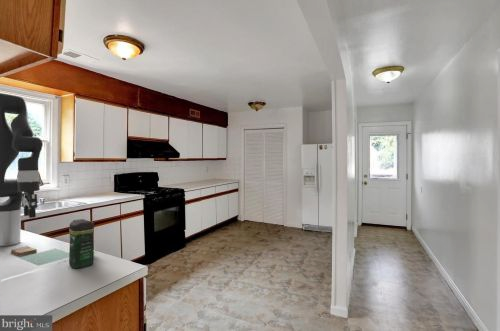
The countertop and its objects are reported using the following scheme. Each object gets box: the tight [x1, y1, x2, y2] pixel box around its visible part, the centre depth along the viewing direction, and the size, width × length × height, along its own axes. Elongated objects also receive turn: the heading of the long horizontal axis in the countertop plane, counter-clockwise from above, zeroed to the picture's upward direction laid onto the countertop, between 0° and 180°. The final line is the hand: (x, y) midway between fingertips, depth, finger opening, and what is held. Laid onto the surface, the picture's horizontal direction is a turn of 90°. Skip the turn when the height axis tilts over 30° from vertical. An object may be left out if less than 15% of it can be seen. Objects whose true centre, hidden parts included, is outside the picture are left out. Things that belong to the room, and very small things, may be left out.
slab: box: [10, 245, 38, 258], centre depth 120 cm, size 2×6×9 cm
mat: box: [19, 248, 69, 266], centre depth 116 cm, size 17×14×1 cm
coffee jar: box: [68, 218, 95, 269], centre depth 109 cm, size 10×8×19 cm
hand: (29, 216), depth 119 cm, fingers open, 8 cm apart
